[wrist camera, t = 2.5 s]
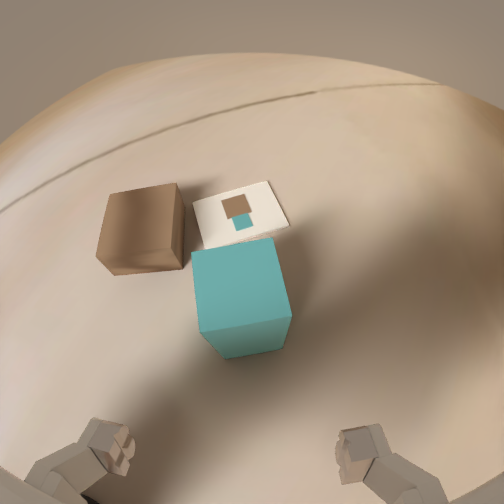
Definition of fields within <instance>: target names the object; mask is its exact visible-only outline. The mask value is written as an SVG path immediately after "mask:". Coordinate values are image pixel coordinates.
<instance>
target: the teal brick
mask: <svg viewBox="0 0 504 504" xmlns="http://www.w3.org/2000/svg"><path fill="white" fill-rule="evenodd" d="M191 256H192V267H193V277H194V287H195V296H196V305H197V314H198V322H199V330H200V333H201V334H202V335H203V336H204V337H205V339H206V340H207V341H208V342H209V343H210V344H211V345H212V346H213V347H214V348H215V349H216V350H217V351H218V352H219V353H220V355H221V356H222V357H223V358H224V359H229V358H235V357H241V356H247V355H253V354H258V353H263V352H268V351H273V350H278V349H282V348H283V345H284V341H285V338H286V335H287V331H288V328H289V325H290V321H291V318H292V313H291V308H290V304H289V300H288V296H287V292H286V288H285V284H284V280H283V276H282V272H281V269H280V265H279V261H278V257H277V253H276V249H275V245H274V241H273V238H266V239H260V240H255V241H249V242H244V243H238V244H233V245H227V246H222V247H217V248H211V249H206V250H200V251H195V252H191Z"/></svg>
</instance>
